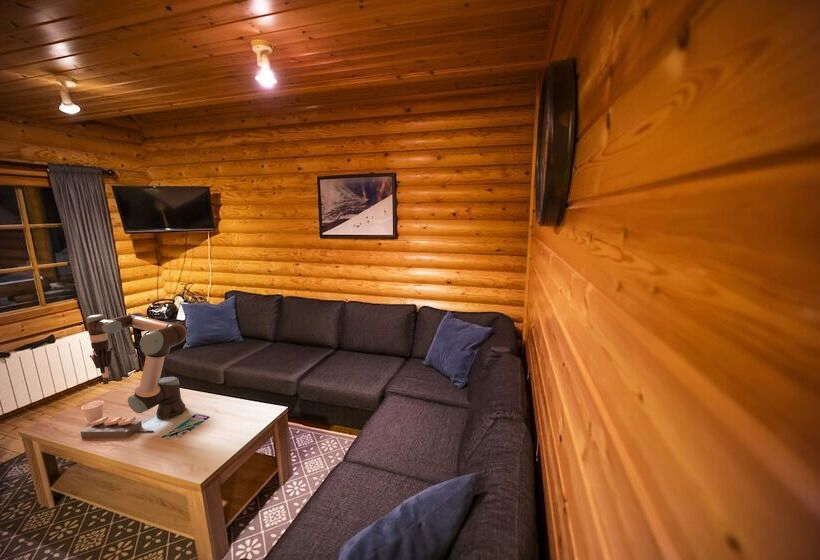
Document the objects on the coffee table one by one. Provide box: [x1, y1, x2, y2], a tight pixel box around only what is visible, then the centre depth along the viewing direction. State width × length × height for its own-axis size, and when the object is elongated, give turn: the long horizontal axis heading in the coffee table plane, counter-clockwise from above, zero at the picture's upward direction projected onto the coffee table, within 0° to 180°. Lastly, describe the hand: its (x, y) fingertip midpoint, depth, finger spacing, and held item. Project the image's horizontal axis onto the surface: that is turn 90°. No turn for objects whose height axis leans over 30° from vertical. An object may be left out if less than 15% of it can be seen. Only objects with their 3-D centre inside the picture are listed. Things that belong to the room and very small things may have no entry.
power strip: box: [80, 420, 155, 439], centre depth 191 cm, size 36×10×5 cm, turn 90°
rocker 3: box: [118, 416, 137, 426], centre depth 192 cm, size 7×4×2 cm, turn 90°
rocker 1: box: [89, 416, 109, 426], centre depth 192 cm, size 7×4×2 cm, turn 90°
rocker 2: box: [104, 416, 123, 426], centre depth 192 cm, size 7×4×2 cm, turn 90°
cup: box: [80, 399, 104, 424], centre depth 202 cm, size 10×10×11 cm
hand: (105, 377), depth 203 cm, fingers closed
